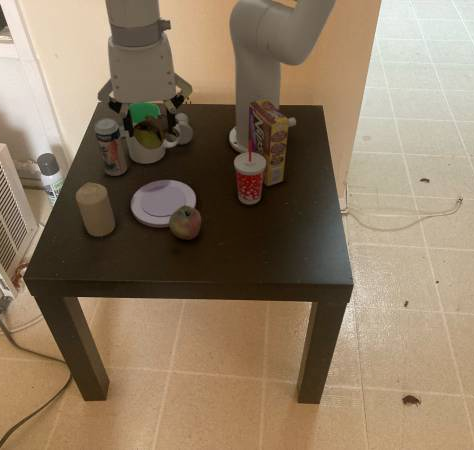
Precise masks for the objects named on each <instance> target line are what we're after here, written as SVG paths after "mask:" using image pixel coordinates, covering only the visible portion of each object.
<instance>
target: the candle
mask: <svg viewBox="0 0 474 450" xmlns="http://www.w3.org/2000/svg"><path fill="white" fill-rule="evenodd" d="M75 200H76V203H77V206H78V209H79V212H80V214H81V217H82V220H83V223H84V227H85V230H86V231H87V233H88V234H89V235H90V236H92V237H99V238H100V237H105V236H107V235H109V234H111V233H112V232H113V230H114V229H115V228H116V220H115V215H114V213H113V209H112V205H111V201H110V197H109V194H108V190H107V188H106V187H105V186H104V185H102V184H100V183H96V182H90V181H89V182H86V183H84V185H83V186H81V187H80V188H79V189H78V190H77V191H76V193H75Z"/></svg>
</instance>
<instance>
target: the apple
mask: <svg viewBox="0 0 474 450" xmlns="http://www.w3.org/2000/svg"><path fill="white" fill-rule="evenodd" d="M201 225H202V216H201V213H200V212H199V210H198V209H196V208H195V209H194V208H192V207H190V206H181V207H180V208H179V209H178V210H176V211H175V212H174V213H173V214H172V215H171V216H170V219H169V227H168V228H169V229H170V231H171V233H172V235H174V236H175V237H176V238H178V239H181V240H187V241H189V240H193V239H195V238H196V237H197V236H198V235H199V233H200V231H201V228H202V227H201Z"/></svg>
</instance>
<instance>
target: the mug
mask: <svg viewBox="0 0 474 450" xmlns="http://www.w3.org/2000/svg"><path fill="white" fill-rule="evenodd" d="M129 110H130V111H131V116H132V122H133V128H134V125H136V124H138V123H139V122H141V121H144V120H147V119H145V116H146V115H150V116H153V117H155V118H157V116H158V115H160V114H161V110H160V107H159V106H158V105H157V104H155V103H152V102H138V103H130V106H129ZM121 120H122V119H121ZM122 122H123V120H122ZM173 128H175V129H176V130H177V131H178V132H179V133H180V129H179V126H178V125H176V126H175V127H173ZM125 135H126V136H125V139H126V144H127V148H128V149H127V150H128V154H129V157H130V159H131V160H132V161H133V162H135V163H138V164H145V165H146V164H147V165H148V164H153V163H156V162H158V161H160V160H161V159H163V158H164V157H165V154H166V153H167V151H166V149H171V148H175V147H177V145H179V144H178V142H179V140H180V136H179V137H178V138H177V140H176V141H175V142H173V141H172V142H171V141H168V140H167V139H166V138H165V140H164V142H163V144H162V145H161V146H160V147H159V148H157V149H153V150H149V149H145V148H144V147H142V146H141V145H140V144H139V143H138V141H137V140H136V138H135V137H134V136H133V137H129V132H128V131H125ZM180 135H181V134H180Z"/></svg>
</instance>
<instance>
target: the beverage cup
mask: <svg viewBox="0 0 474 450" xmlns="http://www.w3.org/2000/svg"><path fill="white" fill-rule="evenodd" d="M251 148H252V140H249V152H246V153H240V154H238V155H237V156H236V157H235V159H234V160H233V165H234V170H235V175H236V186H237V197H238V200H239V201H240V202H241V203H242V204H245V205H254V204H257V203H259V202H260V200H261V199H262V190H263V184H264V182H263V174H264V169H265V167H266V160H265V158H264V157H263V156H262V155H260V154H258V153H253V152H251Z"/></svg>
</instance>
